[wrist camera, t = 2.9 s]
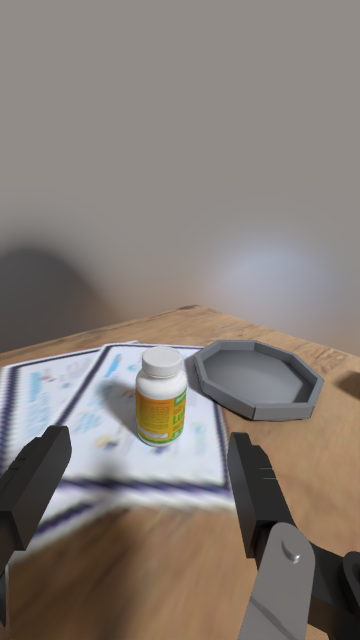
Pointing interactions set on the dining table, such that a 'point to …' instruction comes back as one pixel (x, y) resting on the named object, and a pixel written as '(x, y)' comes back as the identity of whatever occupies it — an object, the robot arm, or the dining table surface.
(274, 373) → the dish
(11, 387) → the dining table surface
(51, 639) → the dining table surface
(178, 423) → the supplement bottle
